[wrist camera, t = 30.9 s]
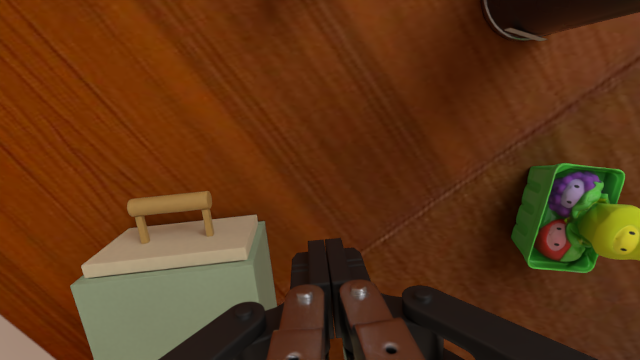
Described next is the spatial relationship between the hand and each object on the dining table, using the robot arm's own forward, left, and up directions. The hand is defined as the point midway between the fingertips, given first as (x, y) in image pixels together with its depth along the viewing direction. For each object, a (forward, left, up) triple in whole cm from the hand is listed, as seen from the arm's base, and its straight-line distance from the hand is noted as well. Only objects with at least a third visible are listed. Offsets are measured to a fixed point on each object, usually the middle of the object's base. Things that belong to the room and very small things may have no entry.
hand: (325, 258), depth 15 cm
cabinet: (+15, -13, -21) cm, 29 cm away
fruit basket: (+8, +27, -21) cm, 35 cm away
